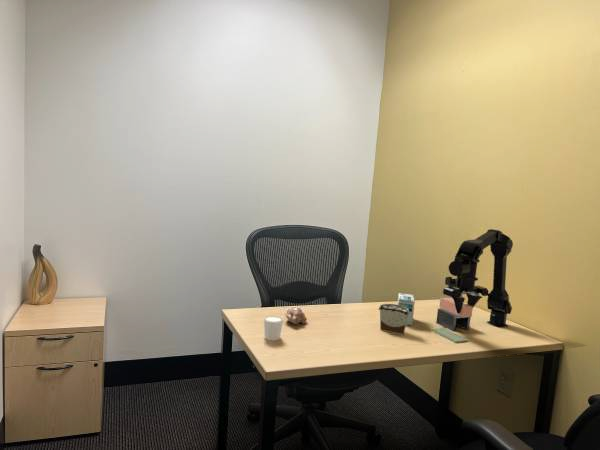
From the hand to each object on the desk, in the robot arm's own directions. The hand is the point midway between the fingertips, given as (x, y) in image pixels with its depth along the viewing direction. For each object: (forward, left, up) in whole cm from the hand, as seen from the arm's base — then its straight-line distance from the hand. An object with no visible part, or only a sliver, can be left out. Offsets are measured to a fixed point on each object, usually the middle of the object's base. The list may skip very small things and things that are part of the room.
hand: (463, 312), depth 182 cm
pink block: (0, -5, -1) cm, 5 cm away
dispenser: (-7, -12, -10) cm, 18 cm away
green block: (+3, -3, -10) cm, 11 cm away
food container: (+22, -14, -11) cm, 28 cm away
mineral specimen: (+57, -32, -11) cm, 67 cm away
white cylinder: (+73, -18, -11) cm, 76 cm away
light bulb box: (+10, -23, -11) cm, 27 cm away
